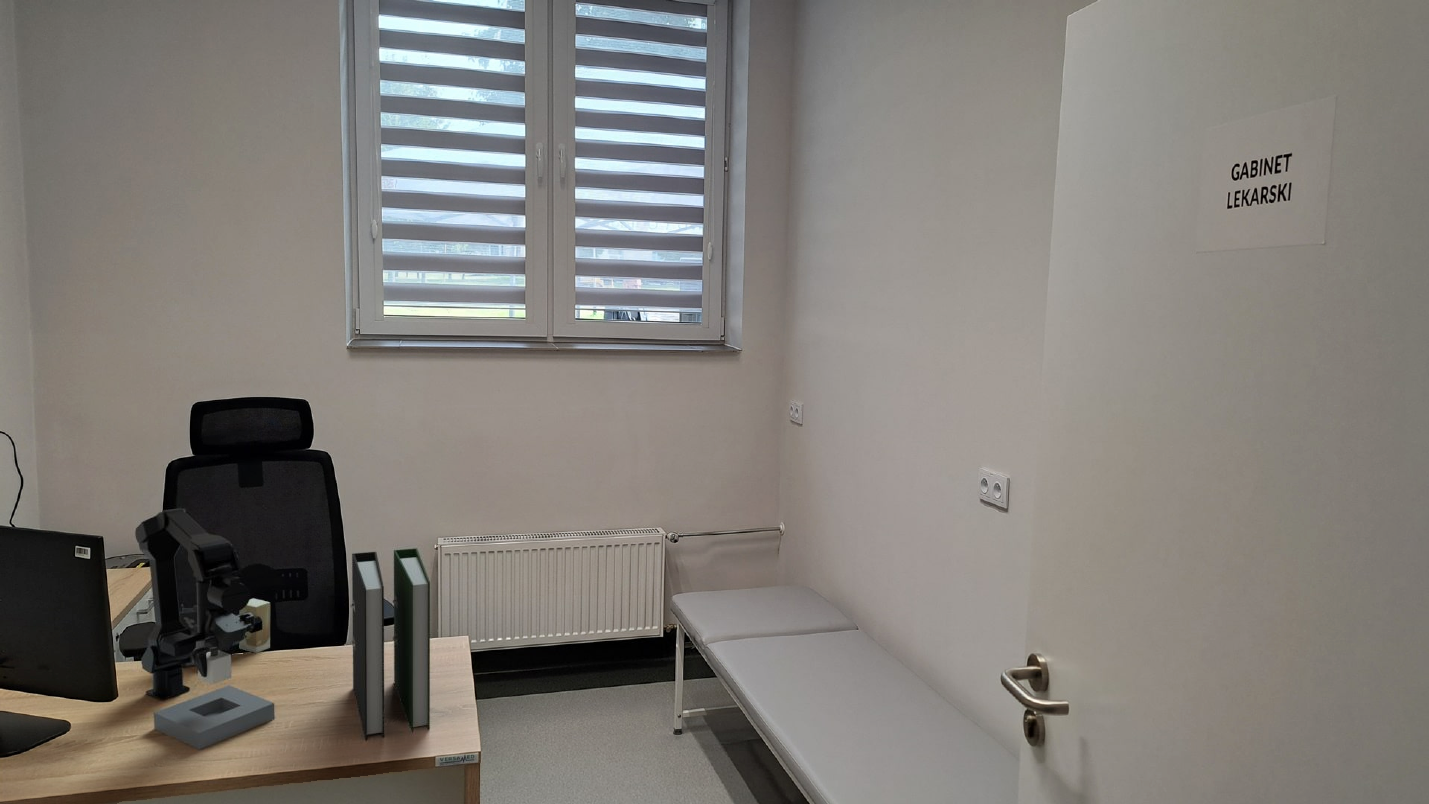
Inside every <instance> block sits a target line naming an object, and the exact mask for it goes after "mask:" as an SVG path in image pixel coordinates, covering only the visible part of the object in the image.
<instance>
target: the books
mask: <svg viewBox="0 0 1429 804" xmlns="http://www.w3.org/2000/svg"><path fill="white" fill-rule="evenodd" d="M351 565H352V567H351V569H352V570H351V571H352V573H351V574H352V575H351V576H352V577H351V581H352V594H351V595H352V602H351V605H349V606H350V608H351V609H352V640H351V641H350V645H351V646H352V689H353V693H354V697H355V702H356V706H357V711H358V714H359V715H358V716H359V719H360V724H361V728H362V732H363V736H364V740H365V741H368V735H373V734H379V733H381V734H382V738H385V618H384V617H385V598H384V597H385V595H384V594H385V591H384V589H385V586H384V582H383V577H382V572H381V568H380V567H381V566H380V562H379V558H378V553H377V551H366V552H355V553H351ZM392 603H393V637H392V640H393V683H394V682H395V683H394V686H395V685H396V686H395V688H397V689H396V692H397V691H398V692H397V694H399V695H398V698H399V697H400V698H399V700H401V701H400V703H402V704H401V706H403V707H402V709H403V712H404V715H405V717H406V721H407V723H409V724H408V727H409V729H411V730H410V732H412V733H414V728H415V727H420V726H421V727H423V726H426V727H427V726H428V727H427V730H428V729H431V727H430V725H431V724H430V723H431V721H430V719H431V717H430V716H431V715H430V714H431V713H430V711H431V703H430V701H431V700H430V699H431V687H430V685H431V684H430V683H431V681H430V680H431V667H430V666H431V652H430V651H431V650H430V649H431V581H430V579H429V576H428V573H427V571H426V568H425V565H424V563H423V559H422V557H421V554H420V552H419V549H418V547H417V548H416V547H415V548H404V549H394V550H393V600H392ZM412 733H411V734H412Z"/></svg>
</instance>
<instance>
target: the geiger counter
mask: <svg viewBox="0 0 1429 804" xmlns="http://www.w3.org/2000/svg"><path fill="white" fill-rule="evenodd" d="M179 611H180V621H181V622H182V623H183V625H184V626H185V627H186V628H189V629H190V631H191V635H193V634H196V633H198V631H196V630H194V625H196V624H197V612H196V611H193V607H188V608H186V607H184V604H183V603H182V604H181V605H180V608H179ZM205 647H207V648H209V651H208V652H210V648H212V647H218V650H219V651H220V649H219V640H218V639H217V638H212V639H209V640H206V641H205ZM184 667H185V668H193V667H196V665H195V663H194V661H193V660H192V663H187V664H183V665H182V669H184Z"/></svg>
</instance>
